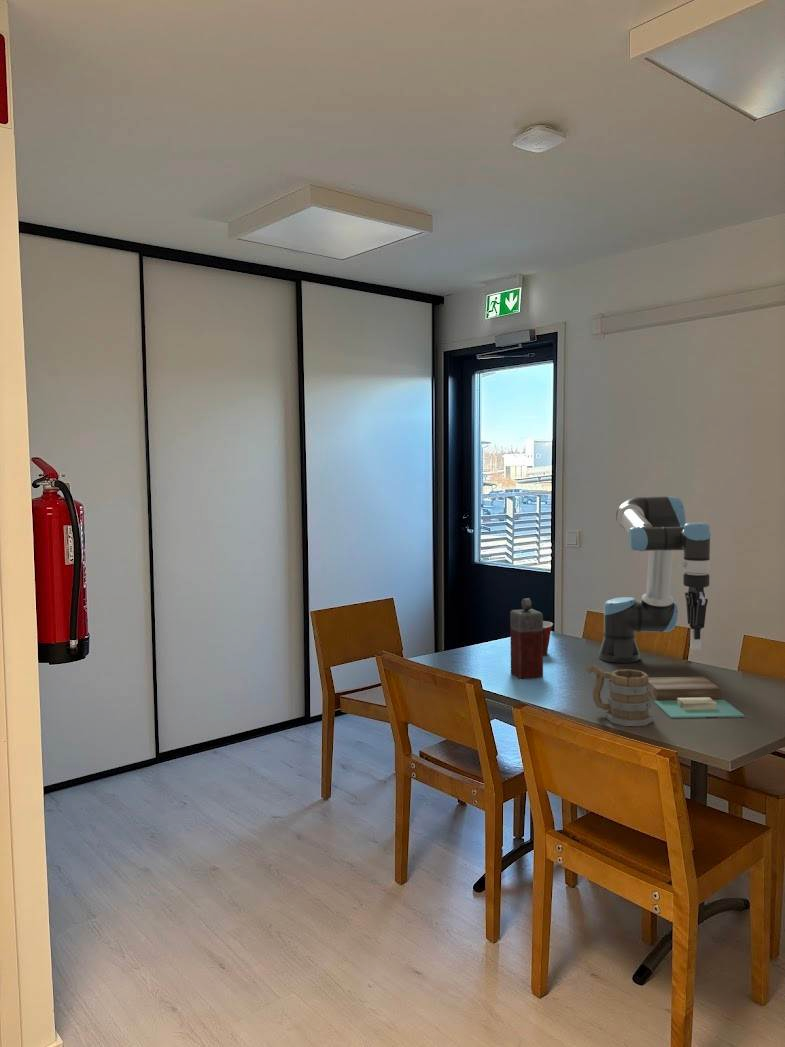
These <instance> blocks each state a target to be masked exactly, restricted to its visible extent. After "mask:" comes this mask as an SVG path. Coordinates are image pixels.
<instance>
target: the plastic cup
mask: <svg viewBox="0 0 785 1047" xmlns="http://www.w3.org/2000/svg"><path fill="white" fill-rule="evenodd" d="M553 625H554V623H553V622H551V621H547V620H546V621H545V620H543V628H545V630H546V633H547V652H548V650H549V644H550V639H551V632H552V627H553Z"/></svg>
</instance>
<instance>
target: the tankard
mask: <svg viewBox="0 0 785 1047" xmlns="http://www.w3.org/2000/svg"><path fill="white" fill-rule="evenodd" d="M585 670H586V672H587V673H588V674H589V673H594V674H596V677H595V685H594V688H593V690H592V700H593V702H594V704H595V706H596V708H598V709H601V710H602V711H603V710H604V711H606V712H605V718H606V719H607V720H608V721H609V722H610V723H611V724H613V725H617V724H618V725H617V726H622V727H626V726H636V727H646V726H647V725H649V724H651V723H653V722H654V716H653V715H652V714H651V713H650V712H649V709H650V708H651V707H652V706H651V705H652V702H651V701H652V700H651V699H650V698H649V694H648V692H650V691H651V684H650V683H649V682H648V678H650V677H649V674H647V673H646V672H644V671H642V670H637V669H616V670H613V671H611V672H609V671H605V670H602V669H601V668H600V667H599V666H597V665H596V664H591V665H590V666H587V667H585ZM605 679H609V680H608V681H607V688H608V690H610V692H609V693H610V694H609V696H608V697H607V702H604V701H602V697H601V692H602V689H603V686H604V681H605Z"/></svg>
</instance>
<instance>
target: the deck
mask: <svg viewBox="0 0 785 1047" xmlns="http://www.w3.org/2000/svg"><path fill="white" fill-rule="evenodd" d="M648 682H649V683H650V684H651V691H650V692H648V696H650V697H651V698H652V699H653V701H667V700H677V698H699V697H710V698H711V699H712V700H721V688H720V687H719V686H718V685H716V684H714V683H713V682H712V681H710V680H709V679H708V678H706V677H705V676H667V677H665V676H663V677H662V676H661V677H656V676H655V677H648Z"/></svg>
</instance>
